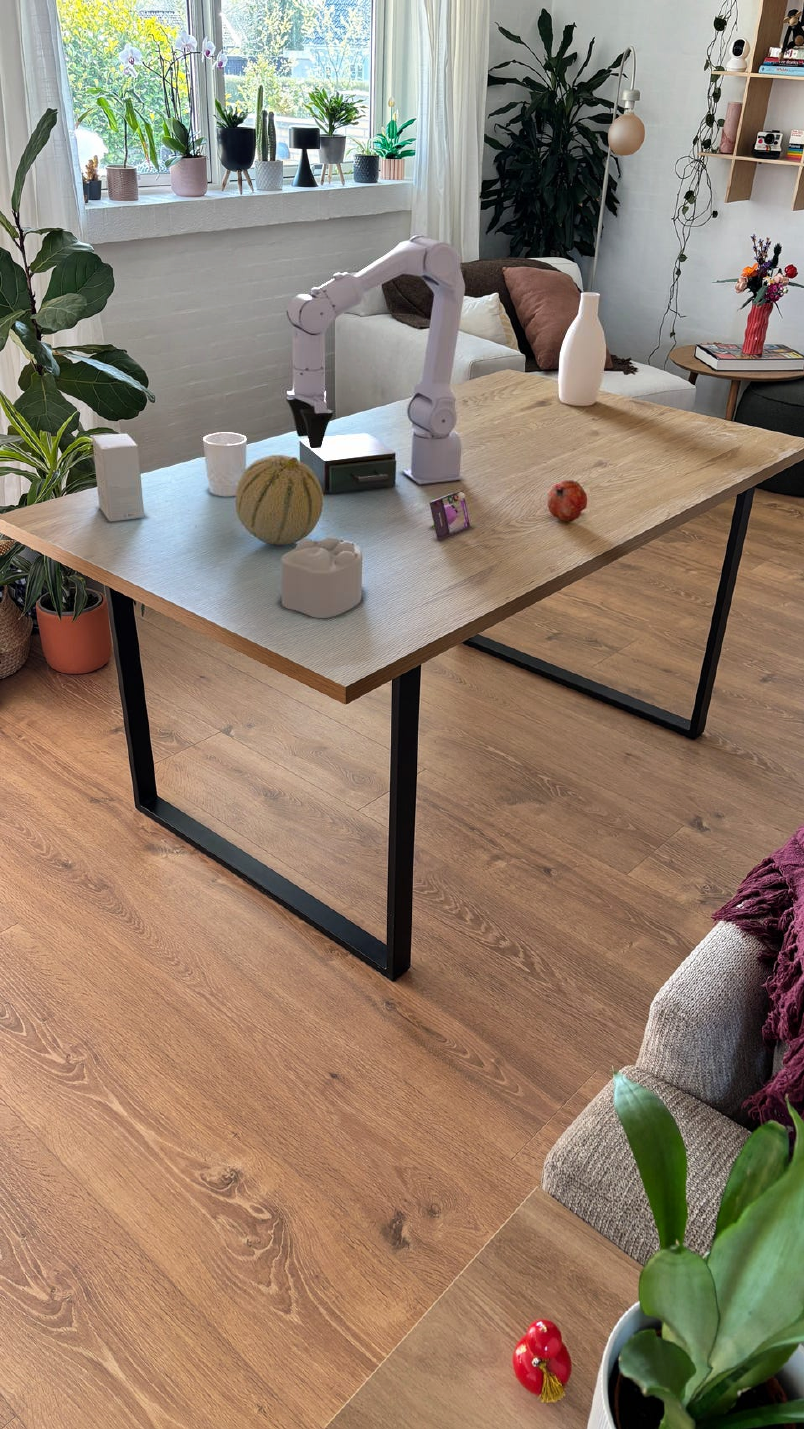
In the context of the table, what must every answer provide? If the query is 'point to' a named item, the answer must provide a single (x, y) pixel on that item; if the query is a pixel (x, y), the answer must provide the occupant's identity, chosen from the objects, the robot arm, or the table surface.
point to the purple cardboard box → (448, 514)
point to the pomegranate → (567, 500)
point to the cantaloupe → (279, 499)
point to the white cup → (224, 462)
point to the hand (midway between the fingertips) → (309, 441)
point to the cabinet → (342, 455)
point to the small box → (118, 477)
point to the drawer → (361, 474)
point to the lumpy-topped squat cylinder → (322, 577)
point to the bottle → (583, 355)
